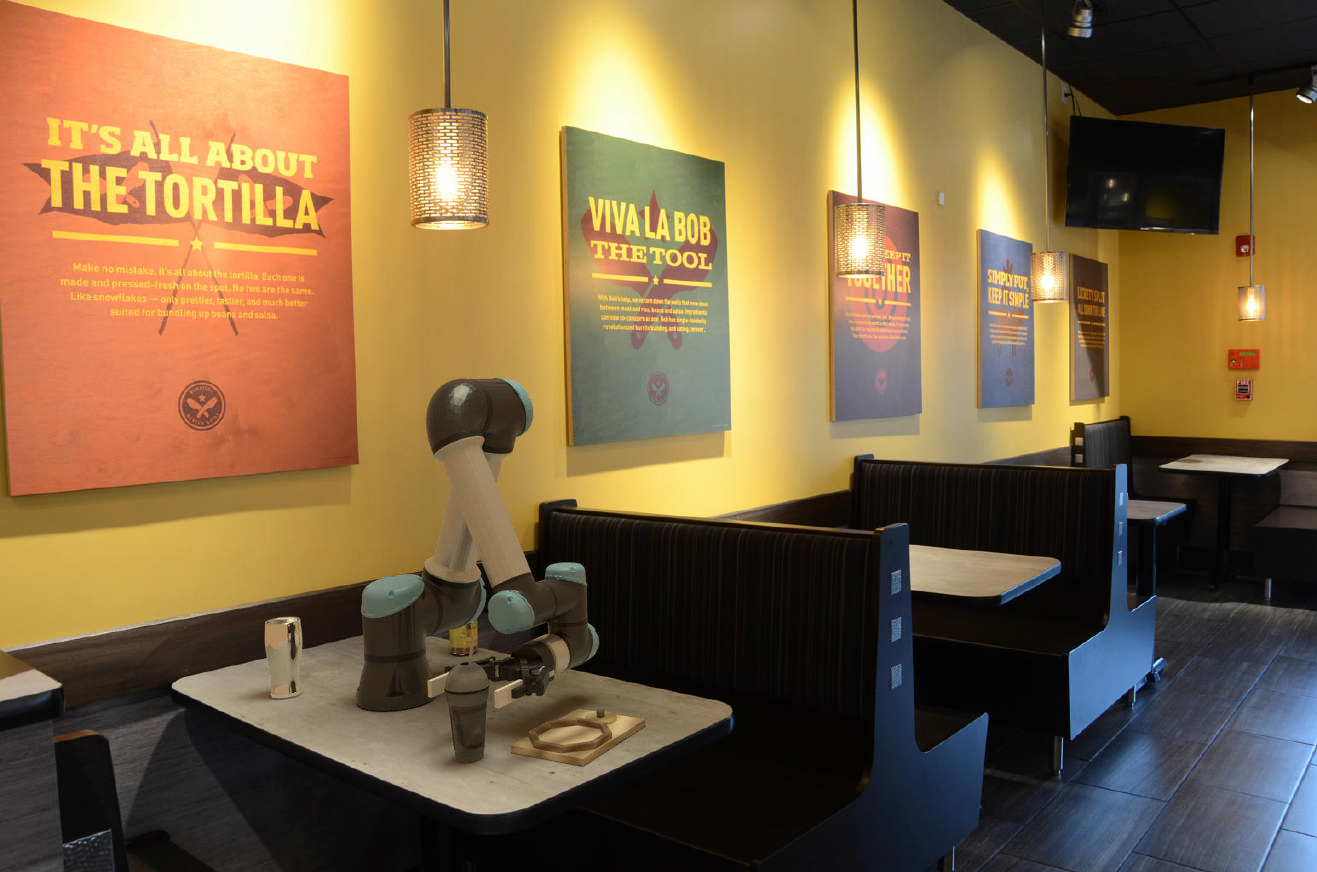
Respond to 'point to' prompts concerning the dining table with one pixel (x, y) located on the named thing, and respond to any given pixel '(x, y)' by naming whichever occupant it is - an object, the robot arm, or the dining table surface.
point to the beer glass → (284, 654)
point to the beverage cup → (467, 708)
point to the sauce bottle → (464, 638)
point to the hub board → (578, 736)
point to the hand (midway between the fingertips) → (462, 694)
